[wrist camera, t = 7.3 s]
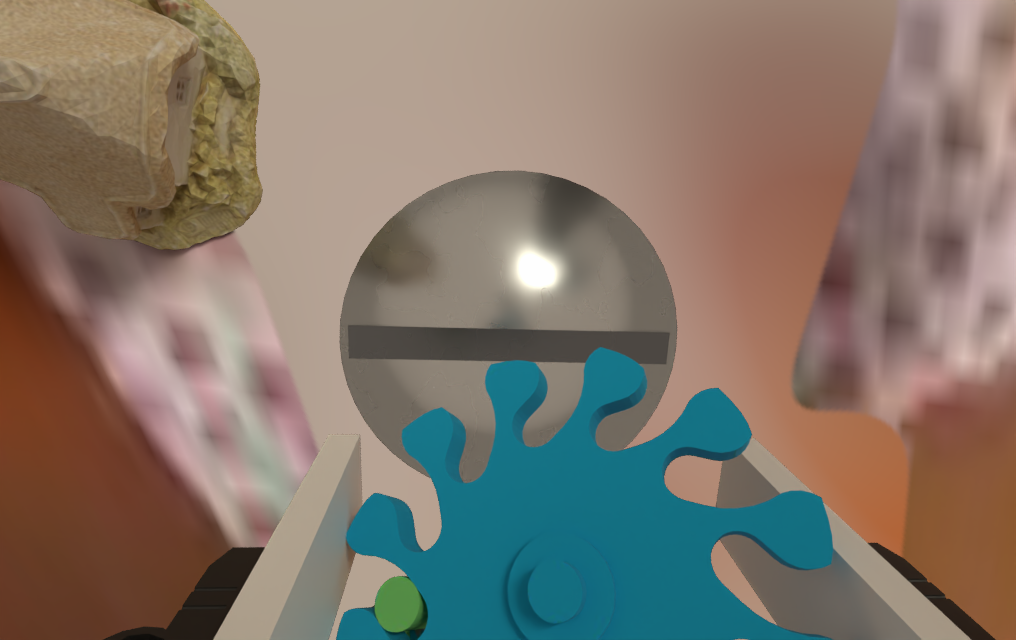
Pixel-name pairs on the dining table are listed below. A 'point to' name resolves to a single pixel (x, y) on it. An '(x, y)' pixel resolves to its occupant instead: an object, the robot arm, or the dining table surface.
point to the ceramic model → (130, 117)
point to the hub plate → (502, 308)
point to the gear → (575, 526)
